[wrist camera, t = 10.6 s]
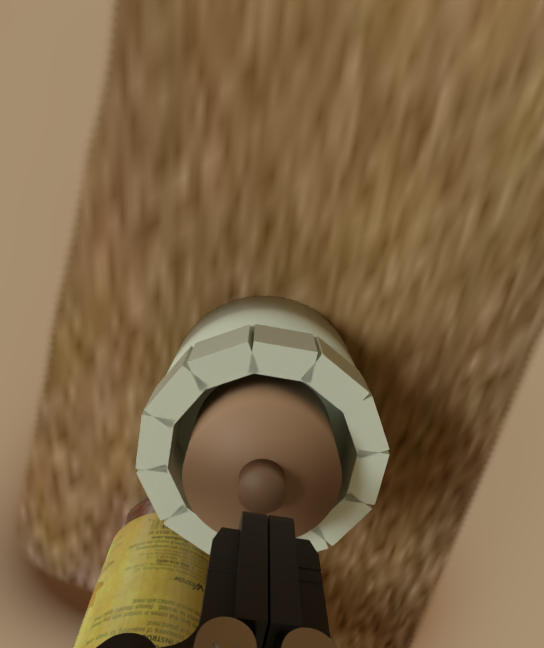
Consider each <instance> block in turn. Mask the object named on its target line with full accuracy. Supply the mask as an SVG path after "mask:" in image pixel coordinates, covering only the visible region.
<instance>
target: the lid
mask: <svg viewBox="0 0 544 648" xmlns="http://www.w3.org/2000/svg"><path fill="white" fill-rule="evenodd" d="M182 482H183V488H184V492H185V495H186V498H187V500H188V502H189V504H190V506H191V508H192V510H193V511H194V512H195V514H196V515H197V516H198V517H199V518H200V519H201V520H202V521H203V522H204V523H205V524H206V525H207V526H208V527H210V528H211V529H212V530H214V531H216V532H217V533H218V532H219V530H220V529H221V528H222V527H224V528H231V529H239V524H240V519H241V514H242V511H246V512H253V513H260V514H266V515H267V518H268V515H274V516H281V517H287V518H293V519H294V526H295V538H297V537H299V536H301V535H303V534H305V533H307V532H309V531H310V530H312V529H313V528H315V527H316V526H317V525H318V524H319V523H321V522H322V521H323V519H324V518H325V517H326V516H327V515H328V514H329V512H330V511H331V510H332V508H333V506H334V504H335V503H336V501H337V498H338V495H339V493H340V488H341V483H342V470H341V463H340V459H339V455H338V451H337V447H336V443H335V439H334V435H333V431H332V427H331V423H330V419H329V415H328V413H327V410H326V408H325V406H324V404H323V403H322V401H321V399H320V398H319V397H318V396H317V394H316V393H315V392H314V391H313V390H312V389H311V388H309V387H308V386H307V385H305V384H304V383H303V382H301V381H296V380H290V379H284V378H278V377H272V376H266V375H260V374H251V375H248V376H245V377H242V378H239V379H236V380H233V381H230V382H227V383H224V384H221V385H219V386H218V387H216V388H215V389H214V390H213V391H212V392H211V393H210V394H209V395H208V397H207V398H206V399H205V400H204V402H203V404H202V406H201V407H200V410H199V412H198V415H197V418H196V421H195V425H194V428H193V431H192V435H191V438H190V442H189V445H188V449H187V452H186V455H185V459H184V463H183V470H182Z"/></svg>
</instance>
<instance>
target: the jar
mask: <svg viewBox="0 0 544 648" xmlns="http://www.w3.org/2000/svg"><path fill="white" fill-rule="evenodd" d="M251 374H260V375H266V376H272V377H278V378H284V379H290V380H296V381H301V382H303V383H304V384H305V385H307V386H308V387H309V388H311V389H312V390H313V391H314V392H315V393H316V394H317V396H318V397H319V398H320V399H321V401H322V403H323V404H324V406H325V408H326V410H327V413H328V415H329V419H330V423H331V427H332V431H333V435H334V439H335V443H336V447H337V451H338V455H339V459H340V463H341V470H342V483H341V488H340V493H339V495H338V498H337V501H336V503H335V504H334V506H333V508H332V510H331V511H330V512H329V514H328V515H327V516H326V517H325V518H324V519H323V521H322V522H321V523H319V524H318V525H317V526H316V527H315V528H313V529H312V530H310V531H309V532H307V533H305V534H303V535H301V536H299V537H297V538H300V539H307V540H310V542H311V543H312V545H313V546H314V548H315V550H316V551H317V552H318V551H321V550H325V549H328V544H327V542H328V543H329V544H331V545H332V546H333V545H334V544H335V543H336V542H338V541H339V540H340V539H341V538H342V537H343V536H344V535H345V534H346V533H347V532H348V531H349V530H350V529H351V528H353V527H354V526H355V525H356V524H357V523H358V522H359V521H360V520H361V519H362V518H363V517H364V516H365V515H367V514H368V513H369V512H370V511H371V510H372V507H371V505H375V503H376V499H377V496H378V493H379V489H380V486H381V482H382V479H383V475H384V472H385V469H386V465H387V462H388V458H389V455H390V454H389V452H388V450H390V449H389V446H388V443H387V440H386V437H385V434H384V431H383V427H382V424H381V421H380V418H379V415H378V412H377V409H376V406H375V402H374V399H373V397H372V395H371V392H370V390H369V388H368V386H367V384H366V382H365V380H364V378H363V376H362V375H361V373H360V371H359V370H358V369H356V367H355V365H354V362H353V360H352V358H351V356H350V354H349V352H348V350H347V347H346V345H345V343H344V342H343V340H342V338H341V336H340V335H339V333H338V332H337V331H336V330H335V328H334V327H333V326H332V325H331V324H330V323H329V322H328V321H327V320H326V319H325V318H324V317H323V316H321V315H320V314H319V313H317V312H316V311H314V310H313V309H311V308H309V307H307V306H305V305H304V304H301V303H298V302H296V301H293V300H290V299H286V298H282V297H274V296H252V297H245V298H241V299H237V300H234V301H231V302H228V303H226V304H223V305H221V306H219V307H217V308H216V309H214V310H212V311H211V312H209V313H208V314H207V315H205V316H204V317H203V318H202V319H200V320H199V321H198V322H197V324H196V325H195V326H194V327H193V328H192V329H191V330H190V332H189V333H188V334H187V336H186V337H185V339H184V341H183V343H182V345H181V347H180V349H179V351H178V353H177V355H176V357H175V358H174V360H173V362H172V364H171V366H170V368H169V370H168V372H167V374H166V376H165V377H164V378H163V379H162V380H161V382H160V383H159V384H158V385H157V386H156V388H155V390H154V392H153V394H152V396H151V398H150V400H149V401H148V403H147V405H146V407H145V409H144V412H143V414H142V418H141V426H140V435H139V443H138V451H137V460H136V468H137V469H138V471H137V475H138V477H139V479H140V481H141V483H142V485H143V487H144V489H145V491H146V493H147V495H148V497H149V499H150V501H151V503H152V505H153V507H154V509H155V511H156V513H157V515H158V517H159V519H160V520H164V519H165V521H164V525H165V526H167V527H168V528H170V529H171V530H173V531H174V532H176V533H177V534H179V535H180V536H182V537H183V538H185V539H186V540H188V541H189V542H191V543H192V544H194V545H195V546H197V547H198V548H200V549H201V550H203V551H204V552H206V553H207V554H210V551H211V546H212V540H213V538H214V537H215V536H216V534H217V532H216V531H214V530H212V529H211V528H210V527H208V526H207V525H206V524H205V523H204V522H203V521H202V520H201V519H200V518H199V517H198V516H197V515H196V514H195V512H194V511H193V510H192V508H191V506H190V504H189V502H188V500H187V498H186V495H185V492H184V488H183V482H182V470H183V463H184V459H185V455H186V452H187V449H188V445H189V442H190V438H191V435H192V431H193V428H194V425H195V421H196V418H197V415H198V412H199V410H200V407H201V406H202V404H203V402H204V400H205V399H206V398H207V397H208V395H209V394H210V393H211V392H212V391H213V390H214V389H215V388H216V387H218V386H219V385H221V384H224V383H227V382H230V381H233V380H236V379H239V378H242V377H245V376H248V375H251Z"/></svg>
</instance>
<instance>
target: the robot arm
mask: <svg viewBox="0 0 544 648" xmlns="http://www.w3.org/2000/svg"><path fill="white" fill-rule="evenodd" d="M320 571H321V569H320V562H319V555H318V553H317V551H316V550H315V548H314V546H313V545H312V543H311V542H310V540H307V539H300V538H295V526H294V519H293V518H287V517H281V516H274V515H268V518H267V515H266V514H260V513H253V512H246V511H242V514H241V519H240V524H239V529H231V528H224V527H222V528H221V529H220V530H219V532H218V533H217V534H216V536H215V537H214V538H213V540H212V546H211V551H210V556H209V562H208V567H207V573H206V578H205V584H204V591H203V597H202V604H201V611H200V617H199V624H198V627H197V628H196V630H195V631H194V632H193V633H192V635H190V636H189V637H188V638H187V639H185V640H183V641H182V642H179V643H177V644H174V645H170V646H165V647H160V648H337V646H336V645H335V643H334V642H333V641H332V640H331V638H330V633H329V626H328V619H327V612H326V605H325V598H324V590H323V586H322V576H321V573H320ZM96 648H156V646H155V645H154V644H153V642H152V641H151V640H150V639H148V638H147V637H145V636H143V635H140V634H137V633H121V634H118V635H115V636H113V637H110V638H109V639H107V640H106V641H104V642H103V643H101V644H100V645H99V646H97V647H96Z"/></svg>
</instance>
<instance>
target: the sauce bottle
mask: <svg viewBox="0 0 544 648" xmlns="http://www.w3.org/2000/svg"><path fill="white" fill-rule="evenodd" d="M164 521H165V519H164V520H160V519H159V517H158V515H157V513H156V511H155V509H154V507H153V505H152V503H151V501H150V499H149V498H148V499H147V500H145V501H143V502H140V503H139V504H138V505H136V506H135V507H134V508H133V509H132V510H131V511H130V512H129V514H128V515H127V517H126V519H125V521H124V523H123V525H122V527H121V529H120V531H119V532H118V533H117V535H116V536H115V538H114V540H113V542H112V544H111V546H110V549H109V552H108V555H107V557H106V560H105V563H104V565H103V568H102V571H101V573H100V576H99V578H98V581H97V584H96V586H95V589H94V592H93V594H92V597H91V600H90V603H89V606H88V609H87V611H86V614H85V616H84V619H83V622H82V625H81V628H80V630H79V632H78V635H77V638H76V641H75V644H74V646H73V648H96V647H97V646H99V645H100V644H101V643H103V642H104V641H106V640H107V639H109V638H110V637H113V636H115V635H118V634H121V633H137V634H140V635H143V636H145V637H147V638H148V639H150V640H151V641H152V642H153V644H154V645H155V646H156V648H160V647H165V646H170V645H174V644H177V643H179V642H182V641H183V640H185V639H187V638H188V637H189V636H190V635H192V633H193V632H194V631H195V630H196V628H197V627H198V624H199V617H200V611H201V604H202V597H203V591H204V584H205V578H206V573H207V567H208V562H209V556H210V554H207V553H206V552H204V551H203V550H201V549H200V548H198V547H197V546H195V545H194V544H192V543H191V542H189V541H188V540H186V539H185V538H183V537H182V536H180V535H179V534H177V533H176V532H174V531H173V530H171V529H170V528H168V527H167V526H165V525H164Z"/></svg>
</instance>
